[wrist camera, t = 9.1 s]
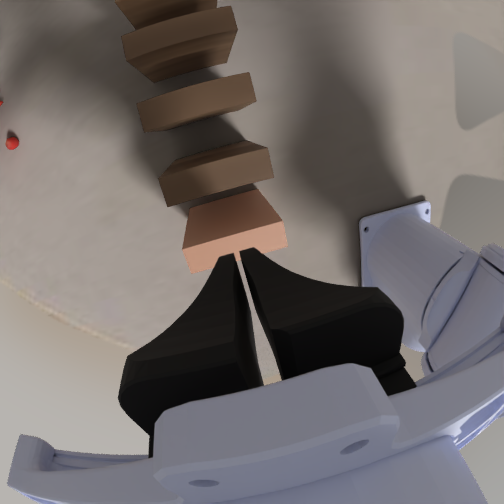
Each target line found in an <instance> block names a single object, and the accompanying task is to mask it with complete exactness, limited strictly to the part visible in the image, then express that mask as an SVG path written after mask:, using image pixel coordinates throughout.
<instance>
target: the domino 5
mask: <svg viewBox="0 0 504 504" xmlns="http://www.w3.org/2000/svg"><path fill="white" fill-rule="evenodd" d="M252 247H255V248H256V249H258V250H259V251H260V252H261V253H262V254H263V253H267V252H271V251H274V250H278V249H281V248H285V247H288V244H287V239H286V234H285V229H284V224H283V220H282V219H281V218H280V217H279V215H278V214H277V213H276V211H275V210H274V209H273V208H272V206H271V205H270V204H269V203H268V201H267V200H266V199H265V197H264V196H263V195H262V194H261V192H260V191H259V190H258V189H256V190H252V191H248V192H244V193H241V194H237V195H234V196H230V197H226V198H223V199H219V200H216V201H212V202H209V203H206V204H202V205H199V206H195V207H192V208H190V210H189V215H188V220H187V225H186V231H185V236H184V242H183V248H182V250H183V253H184V256H185V258H186V261H187V263H188V266H189V269H190V271H191V274H193V273H196V272H200V271H203V270H207V269H211V268H214V266H215V264H216V262H217V260H218V258H219V257H220V256H223V255H227V254H230V253H234V255H235V258H236V261H239V260H241V257H240V253H239V251H241V250H245V249H248V248H252Z"/></svg>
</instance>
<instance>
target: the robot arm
mask: <svg viewBox="0 0 504 504" xmlns="http://www.w3.org/2000/svg"><path fill="white" fill-rule="evenodd" d="M430 208H431V205H430V202H428V201H422V202H418V203H414V204H411V205H407V206H403V207H400V208H396V209H392V210H389V211H385V212H381V213H378V214H374V215H370V216H367V217H363V218H362V219H361V220H360V222H359V229H360V247H361V277H362V287H354V286H344V285H336V284H330V283H325V282H321V281H317V280H313V279H310V278H307V277H304V276H301V275H299V274H296V273H294V272H291V271H289V270H287V269H285V268H283V267H282V266H280V265H278V264H277V263H275V262H274V261H272V260H270V259H269V258H268V257H266V256H265V255H264V254H262V253H261V252H260V251H259V250H258V249H256V248H255V247H252V248H248V249H245V250H241V251H239V253H240V257H241V261H242V264H243V268H244V271H245V275H246V278H247V282H248V285H249V289H250V292H251V296H252V299H253V303H254V306H255V310H256V312H257V315H258V317H259V320H260V322H261V325H262V327H263V329H264V332H265V334H266V337H267V339H268V341H269V344H270V346H271V348H272V351H273V354H274V356H275V359H276V362H277V366H278V369H279V372H280V375H281V379H282V381H279V382H276V383H272V384H269V385H265V386H264V384H263V380H262V376H261V372H260V368H259V365H258V359H257V354H256V347H255V339H254V332H253V324H252V317H251V311H250V307H249V303H248V299H247V296H246V292H245V289H244V285H243V282H242V279H241V275H240V272H239V269H238V265H237V262H236V258H235V255H234V253H230V254H227V255H223V256H220V257H219V258H218V260H217V262H216V264H215V266H214V268H213V270H212V272H211V274H210V276H209V278H208V280H207V282H206V284H205V285H204V287H203V289H202V290H201V292H200V293H199V295H198V296H197V298H196V299H195V300H194V302H193V303H192V304H191V305H190V306H189V308H188V309H187V310H186V311H185V312H184V313H183V314H182V315H181V316H180V317H179V318H178V319H177V320H176V321H175V322H174V323H173V324H172V325H171V326H170V327H169V328H167V329H166V330H165V331H164V332H163V333H161V334H160V335H159V336H157V337H156V338H155V339H153V340H152V341H151V342H149V343H148V344H146V345H145V346H143V347H141V348H140V349H138V350H137V351H135V352H133V353H132V354H130V355H128V356H127V359H126V363H125V366H124V370H123V374H122V380H121V384H120V389H119V395H118V400H119V403H120V406H121V407H122V409H123V410H124V411H125V412H126V414H127V415H128V416H129V417H130V418H131V419H132V420H133V421H134V422H136V424H138V425H139V426H140V427H141V428H142V429H143V430H144V431H145V432H146V433H148V435H150V438H149V455H109V454H92V453H80V452H71V451H63V450H56V449H54V448H53V447H52V446H51V445H50V444H48V443H47V442H46V441H44V440H42V439H40V438H38V437H34V436H28V435H23V434H21V435H20V436H19V439H18V443H17V446H16V449H15V453H14V457H13V461H12V465H11V469H10V473H9V477H8V482H7V484H8V486H9V487H11V488H13V489H14V490H16V491H17V492H19V493H21V494H23V495H24V496H26V497H28V498H30V499H32V500H33V501H35V502H37V503H39V504H488V503H487V501H486V499H485V497H484V495H483V493H482V491H481V489H480V487H479V485H478V484H477V482H476V480H475V478H474V476H473V475H472V473H471V471H470V469H469V467H468V466H467V464H466V462H465V460H464V459H463V457H462V455H461V453H460V452H459V450H460V449H461V448H462V447H464V446H465V445H466V444H467V443H469V442H470V441H471V440H472V439H474V438H475V437H476V436H477V435H478V434H480V433H481V432H482V431H483V430H484V429H485V428H486V427H488V426H489V425H490V424H491V423H492V422H493V421H494V420H495V419H498V418H501V417H504V249H503V248H502V247H500V246H498V245H496V244H495V243H491V244H488V245H487V246H486V245H483V247H482V249H481V252H480V253H477V252H475V251H474V250H472V249H471V248H469V247H468V246H466V245H465V244H463V243H462V242H460V241H458V240H457V239H455V238H454V237H452V236H450V235H449V234H447V233H446V232H444V231H442V230H441V229H439V228H437V227H436V226H434V225H432V224H430ZM425 211H426V212H425ZM365 227H367V229H366V230H365V231H364V229H365ZM401 342H402V343H403V344H404V345H405V346H407V347H409V348H411V349H413V350H416V351H420V352H424V354H423V356H422V359H421V365H422V370H423V372H424V375H425V377H424V378H422V379H420V380H418V381H417V382H414V381H413V379H412V378H411V377H410V375H409V374H408V372H407V371H406V369H405V368H404V366H405V364H406V362H405V360H404V359H403V357H402V355H401V354H400V353H399V352H400V347H401Z"/></svg>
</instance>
